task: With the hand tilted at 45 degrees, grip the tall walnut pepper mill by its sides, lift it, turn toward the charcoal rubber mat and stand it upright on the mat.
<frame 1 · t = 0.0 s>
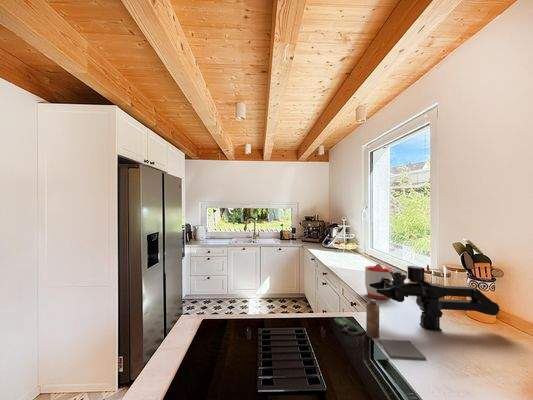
hand: (372, 287, 120), 17 cm above the countertop, tool horizontal, fingers open, 9 cm apart
citrus juicer: (378, 296, 160), on the countertop
gun: (346, 328, 116), on the countertop
trivet mat: (400, 349, 97), on the countertop
pepper mill: (372, 335, 108), on the countertop
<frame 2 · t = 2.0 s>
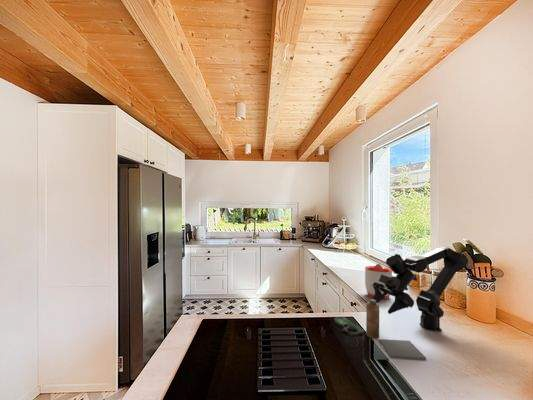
hand: (380, 308, 110), 11 cm above the countertop, tool tilted 45°, fingers open, 9 cm apart
nothing on the countertop moved.
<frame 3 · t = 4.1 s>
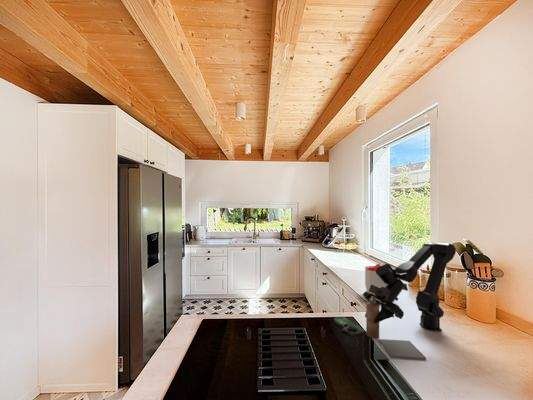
hand: (370, 319, 108), 7 cm above the countertop, tool tilted 45°, fingers closed on pepper mill, 5 cm apart
pepper mill: (372, 335, 108), on the countertop, touching gripper
everything else where it was.
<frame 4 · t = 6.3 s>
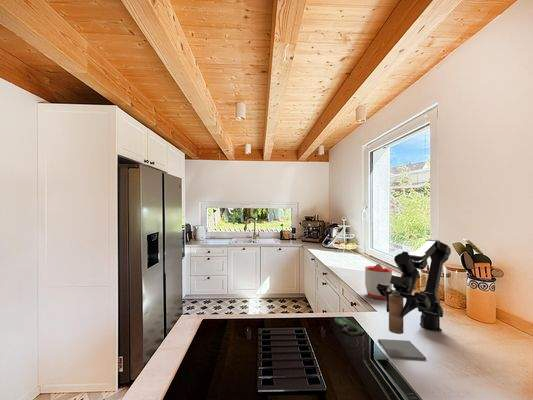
hand: (394, 314, 98), 13 cm above the countertop, tool tilted 45°, fingers closed on pepper mill, 5 cm apart
pepper mill: (396, 330, 99), point 6 cm above the countertop, touching gripper
everything else where it was.
when the fingers open (8 cm above the countertop, at t = 8.3 s): pepper mill drops 1 cm, resting on trivet mat.
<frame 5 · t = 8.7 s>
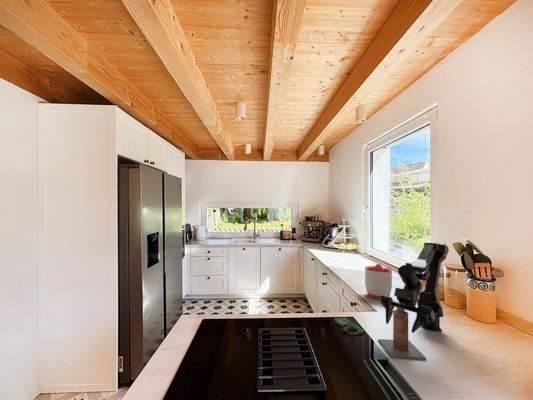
hand: (399, 327, 97), 9 cm above the countertop, tool tilted 45°, fingers open, 9 cm apart
pepper mill: (400, 347, 97), point 1 cm above the countertop, touching trivet mat
everything else where it was.
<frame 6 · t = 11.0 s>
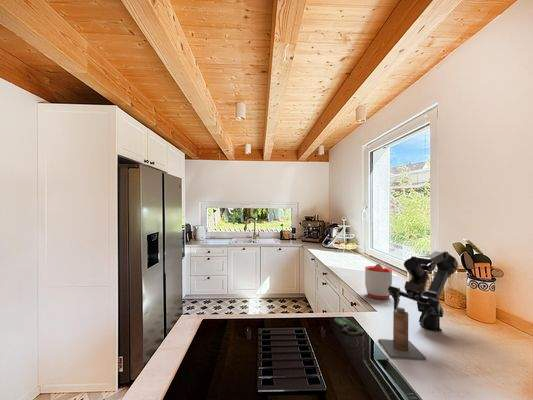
hand: (406, 317, 105), 9 cm above the countertop, tool tilted 40°, fingers open, 9 cm apart
nothing on the countertop moved.
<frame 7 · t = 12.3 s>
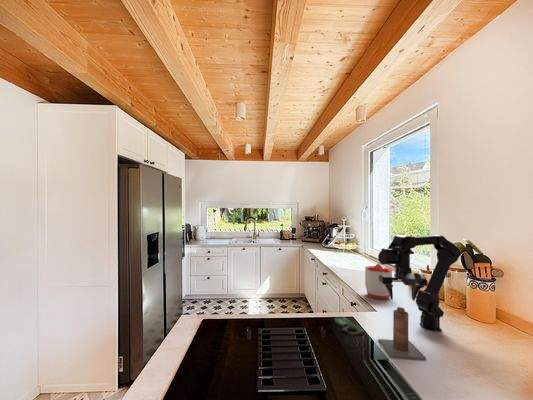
hand: (402, 299, 115), 13 cm above the countertop, tool pointing down, fingers open, 9 cm apart
nothing on the countertop moved.
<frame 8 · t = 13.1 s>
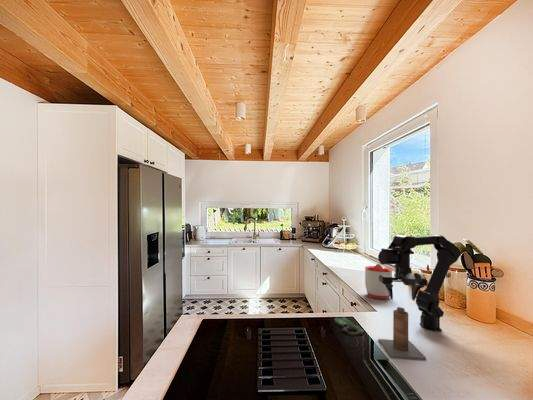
hand: (402, 299, 115), 13 cm above the countertop, tool pointing down, fingers open, 9 cm apart
nothing on the countertop moved.
at the end: pepper mill inside the target area on the trivet mat (0.1 cm from its centre), point 0.8 cm above the trivet mat's base; pepper mill tilted 0°; the gripper is holding nothing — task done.
